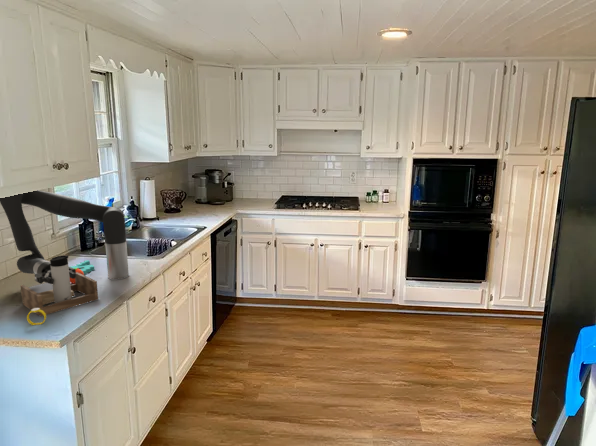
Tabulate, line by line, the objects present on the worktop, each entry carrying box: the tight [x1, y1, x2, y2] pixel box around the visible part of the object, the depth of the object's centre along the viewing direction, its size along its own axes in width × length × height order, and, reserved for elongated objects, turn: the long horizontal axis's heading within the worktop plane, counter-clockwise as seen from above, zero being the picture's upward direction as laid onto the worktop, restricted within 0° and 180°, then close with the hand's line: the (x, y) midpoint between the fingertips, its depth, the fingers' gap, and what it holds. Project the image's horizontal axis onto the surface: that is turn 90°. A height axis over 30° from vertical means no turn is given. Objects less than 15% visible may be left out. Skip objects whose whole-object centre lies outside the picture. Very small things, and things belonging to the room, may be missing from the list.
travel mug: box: [49, 254, 73, 304], centre depth 176 cm, size 6×7×20 cm
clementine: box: [70, 268, 85, 284], centre depth 201 cm, size 8×7×7 cm
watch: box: [26, 308, 47, 326], centre depth 159 cm, size 6×3×6 cm, turn 104°
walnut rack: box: [20, 272, 99, 317], centre depth 179 cm, size 18×22×8 cm
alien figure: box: [70, 259, 95, 275], centre depth 217 cm, size 20×2×20 cm
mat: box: [27, 282, 53, 293], centre depth 193 cm, size 11×11×1 cm
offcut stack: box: [38, 290, 76, 306], centre depth 183 cm, size 5×13×4 cm, turn 140°
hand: (63, 278), depth 175 cm, fingers open, 8 cm apart
